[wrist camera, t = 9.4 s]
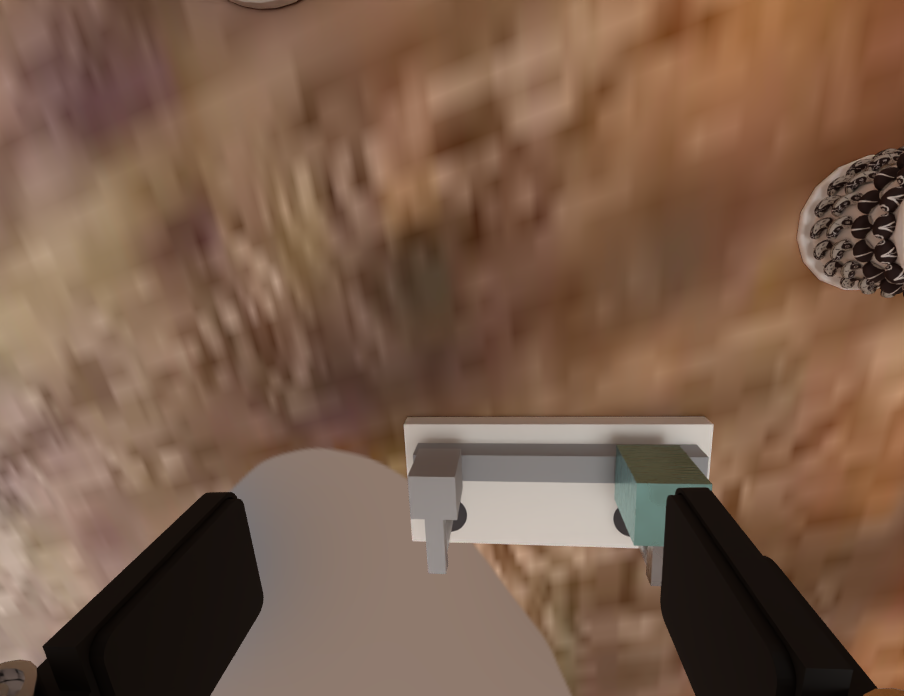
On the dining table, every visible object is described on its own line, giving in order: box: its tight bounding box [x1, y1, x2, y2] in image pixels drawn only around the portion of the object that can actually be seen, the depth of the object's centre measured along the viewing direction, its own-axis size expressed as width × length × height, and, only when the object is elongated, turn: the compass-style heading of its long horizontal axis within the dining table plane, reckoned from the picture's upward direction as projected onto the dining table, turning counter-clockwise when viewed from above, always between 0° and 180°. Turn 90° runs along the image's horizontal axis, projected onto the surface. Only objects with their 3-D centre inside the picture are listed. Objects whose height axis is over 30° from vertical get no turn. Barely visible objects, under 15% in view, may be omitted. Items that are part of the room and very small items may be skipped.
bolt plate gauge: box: [404, 416, 713, 574], centre depth 32 cm, size 10×22×8 cm, turn 93°
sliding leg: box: [614, 445, 712, 586], centre depth 30 cm, size 8×4×7 cm, turn 3°
